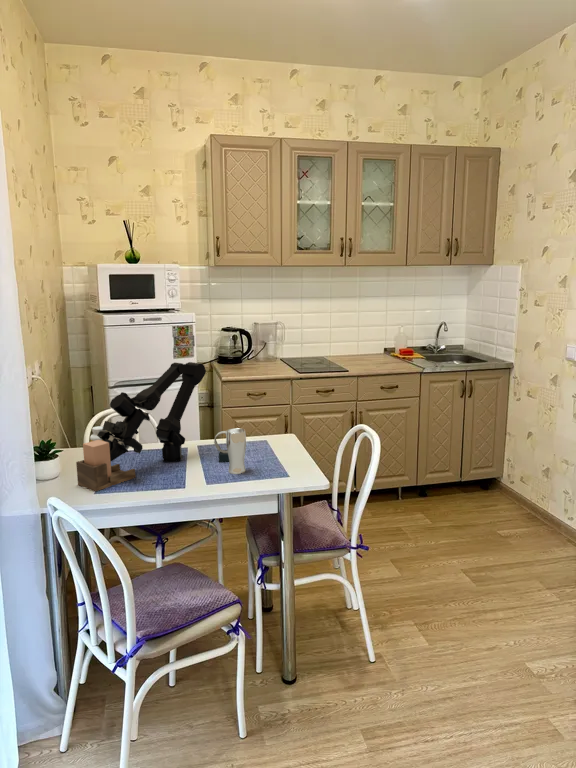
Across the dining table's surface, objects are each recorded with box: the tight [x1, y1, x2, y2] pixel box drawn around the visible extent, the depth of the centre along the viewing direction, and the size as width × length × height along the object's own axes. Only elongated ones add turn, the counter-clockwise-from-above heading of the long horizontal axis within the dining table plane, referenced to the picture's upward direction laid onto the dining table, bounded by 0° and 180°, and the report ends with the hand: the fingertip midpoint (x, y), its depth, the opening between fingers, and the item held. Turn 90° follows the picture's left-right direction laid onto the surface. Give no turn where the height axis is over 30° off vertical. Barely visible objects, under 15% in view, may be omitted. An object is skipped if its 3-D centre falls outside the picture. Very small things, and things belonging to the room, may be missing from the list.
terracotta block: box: [82, 440, 112, 481], centre depth 195 cm, size 6×6×13 cm
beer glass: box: [225, 427, 247, 475], centre depth 206 cm, size 7×7×15 cm
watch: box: [213, 430, 229, 463], centre depth 219 cm, size 6×8×11 cm
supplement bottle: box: [89, 425, 106, 442], centre depth 220 cm, size 7×7×13 cm
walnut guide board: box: [75, 459, 137, 492], centre depth 199 cm, size 16×10×8 cm, turn 142°
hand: (106, 462), depth 198 cm, fingers closed
